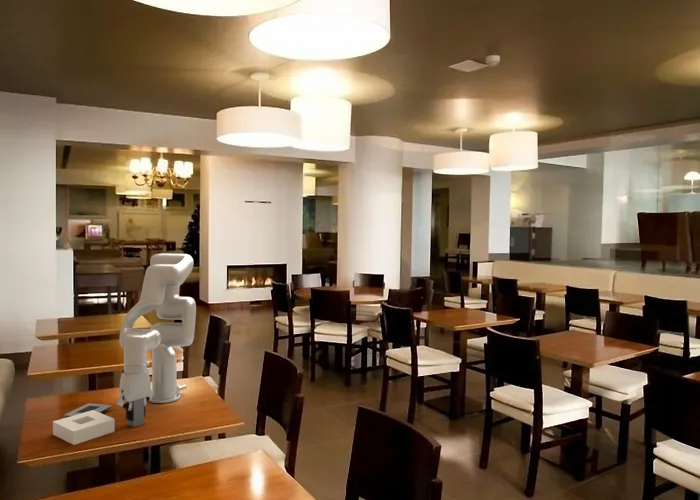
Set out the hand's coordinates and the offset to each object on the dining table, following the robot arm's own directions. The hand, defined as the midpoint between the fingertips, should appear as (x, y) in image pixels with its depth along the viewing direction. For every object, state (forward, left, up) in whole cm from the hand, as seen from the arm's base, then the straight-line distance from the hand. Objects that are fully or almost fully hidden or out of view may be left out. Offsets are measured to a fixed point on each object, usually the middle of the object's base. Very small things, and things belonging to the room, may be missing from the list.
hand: (135, 417), depth 187 cm
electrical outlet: (+5, -23, -3) cm, 24 cm away
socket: (+15, -7, -2) cm, 17 cm away
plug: (0, 0, -2) cm, 2 cm away
